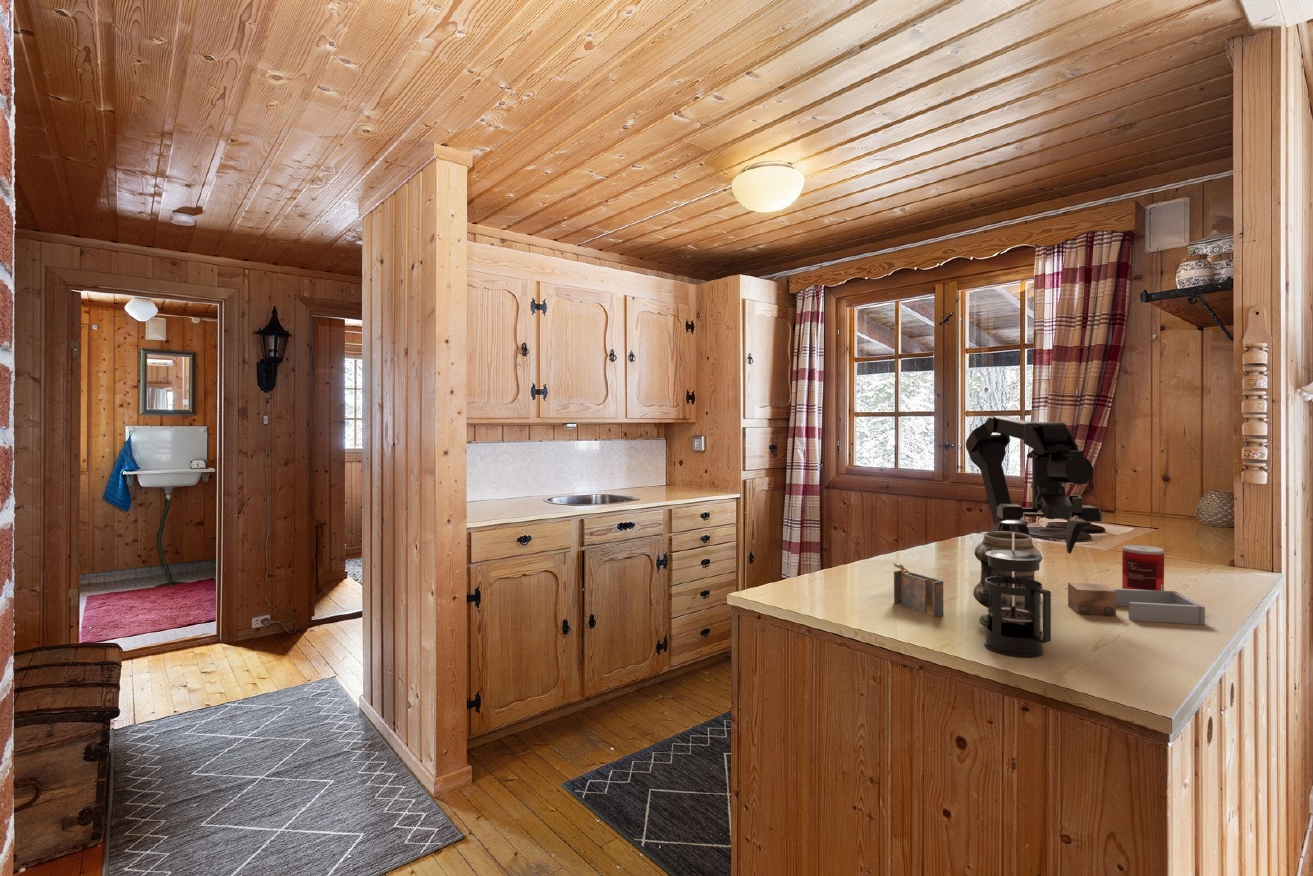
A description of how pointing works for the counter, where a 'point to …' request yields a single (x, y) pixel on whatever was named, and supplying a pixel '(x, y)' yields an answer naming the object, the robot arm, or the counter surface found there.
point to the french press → (1013, 635)
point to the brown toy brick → (1092, 598)
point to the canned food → (1142, 567)
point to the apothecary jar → (1002, 542)
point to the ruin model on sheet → (918, 592)
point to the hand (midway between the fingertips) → (1047, 552)
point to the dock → (1160, 606)
